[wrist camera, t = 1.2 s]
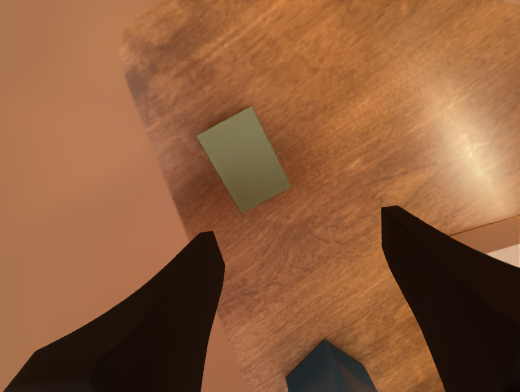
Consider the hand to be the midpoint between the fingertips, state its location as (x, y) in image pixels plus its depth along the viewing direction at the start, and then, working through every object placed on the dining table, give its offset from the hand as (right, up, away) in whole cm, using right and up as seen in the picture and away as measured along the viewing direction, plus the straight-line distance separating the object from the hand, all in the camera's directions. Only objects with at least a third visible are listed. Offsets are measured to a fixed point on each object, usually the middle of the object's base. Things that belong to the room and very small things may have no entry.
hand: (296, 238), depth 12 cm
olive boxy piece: (-3, +5, +11) cm, 13 cm away
